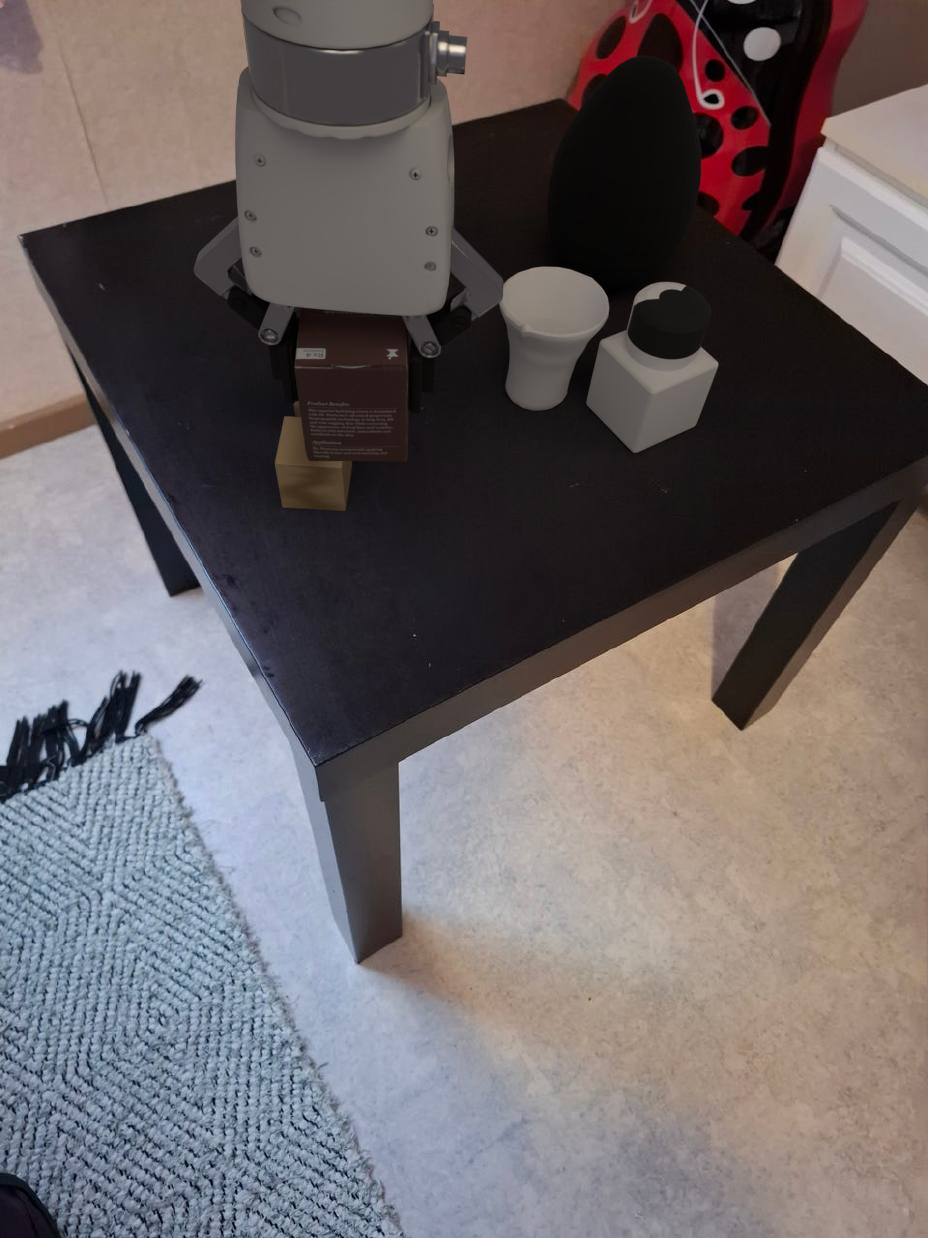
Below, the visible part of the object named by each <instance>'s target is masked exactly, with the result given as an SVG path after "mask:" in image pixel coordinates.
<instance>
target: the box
mask: <svg viewBox="0 0 928 1238" xmlns="http://www.w3.org/2000/svg"><path fill="white" fill-rule="evenodd" d="M298 318H299V325H298V335H297V346H296V355H295V364H294V372H295V378H296V386H297V392H298V398H299V406H300V412H301V421H302V429H303V436H304V444H305V450H306V455H307V458H308V461H352V462H407V460H408V457H409V410H408V370H409V353H410V348H409V331H408V329H407V327H406V325H405V323H404V321H403V319H402V317H401V316H400V315H385V314H372V313H359V312H347V311H335V310H324V309H313V308H303V307H299V313H298Z"/></svg>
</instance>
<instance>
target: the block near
mask: <svg viewBox="0 0 928 1238" xmlns="http://www.w3.org/2000/svg"><path fill="white" fill-rule="evenodd" d="M280 430H281V431H280V436H279V439H278V444H277V450H276V455H275V459H274V467H275V474H276V479H277V486H278V490H279V494H280V495H279V497H280V501H281V507H282V508H286V509H299V510H300V509H301V510H302V509H303V510H316V511H317V510H319V511H333V512H335V511H336V512H346V511H347V505H348V497H349V490H350V485H351V477H352V469H353V461H308V458H307V455H306V450H305V444H304V436H303V429H302V421H301V417H295V416H289V415H288V416H286V415H284V416H283V421H282V426H281V429H280Z"/></svg>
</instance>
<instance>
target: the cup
mask: <svg viewBox="0 0 928 1238" xmlns="http://www.w3.org/2000/svg"><path fill="white" fill-rule="evenodd" d="M498 305H499V310H500V313H501V315H502V318H503V320H504V322H505V325H506V329H507V338H508V342H509V343H508V344H509V360H508V361H509V362H508V369H507V375H506V379H505V384H504V387H505V392H506V394H507V396H508V397H509V399H510V400H511V401H512V402H513V403H514V404H515V405H517V406H518V407H520V408H522V409H525V410H529V411H533V412H535V411H537V412H538V411H547V410H551V409H553V408H555V407H556V406H558V405H559V404H561V403H562V402H563V401H564V400H565V398H566V397H567V395H568V389H569V385H570V381H571V378H572V375H573V372H574V369H575V367H576V364H577V361H578V359H579V358H580V356H581V355H582V353H583V352H584V350H585V349H586V347H587V345H588V343H589V341H591V340H592V338H593V337H594V336H596V335H597V333H598V332H600V330H602V328H603V327H604V326H605V324H606V322H607V321H608V318H609V312H610V303H609V298H608V295H607V294H606V292H605V290H604V289H603V288H602V287H601V286H600V285H599V284H598V283H597V282H596V281H594V280H593V279H592V278H591V277H588V276H586V275H583V274H581V273H578V272H576V271H573V270H570V269H567V268H566V267H559V266H537V267H532V268H529V269H526V270H521V271H519V272H517V273H515V274H514V275H512V276H511V277H509V278H508V279H506V281H505V282H504V283H503V299H502V301H501V302H500V303H499V304H498Z"/></svg>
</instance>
